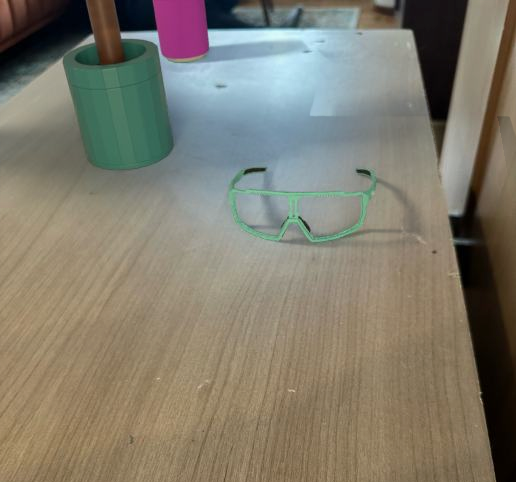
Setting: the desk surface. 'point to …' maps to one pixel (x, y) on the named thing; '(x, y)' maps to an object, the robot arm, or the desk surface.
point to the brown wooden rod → (106, 31)
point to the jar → (120, 105)
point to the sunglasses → (295, 196)
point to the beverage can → (182, 29)
